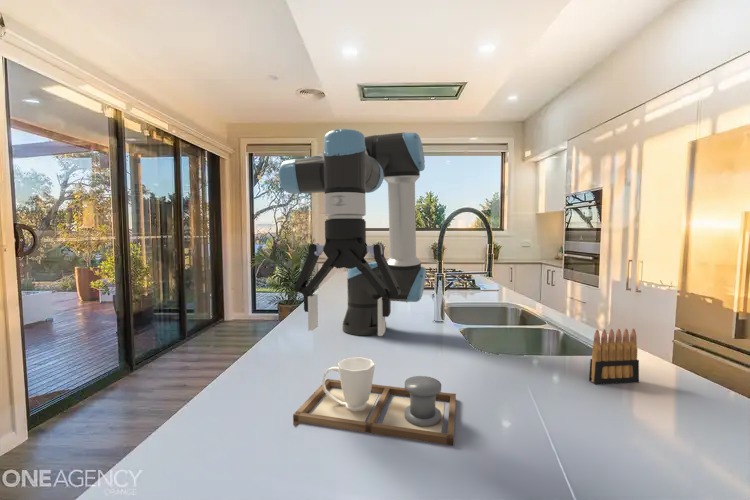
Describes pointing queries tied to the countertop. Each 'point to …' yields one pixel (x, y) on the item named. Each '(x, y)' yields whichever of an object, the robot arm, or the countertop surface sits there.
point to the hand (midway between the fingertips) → (346, 331)
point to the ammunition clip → (614, 358)
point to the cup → (353, 382)
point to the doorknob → (422, 401)
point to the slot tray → (375, 414)
